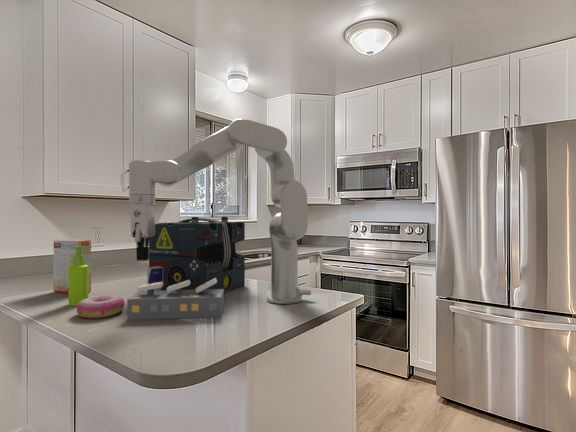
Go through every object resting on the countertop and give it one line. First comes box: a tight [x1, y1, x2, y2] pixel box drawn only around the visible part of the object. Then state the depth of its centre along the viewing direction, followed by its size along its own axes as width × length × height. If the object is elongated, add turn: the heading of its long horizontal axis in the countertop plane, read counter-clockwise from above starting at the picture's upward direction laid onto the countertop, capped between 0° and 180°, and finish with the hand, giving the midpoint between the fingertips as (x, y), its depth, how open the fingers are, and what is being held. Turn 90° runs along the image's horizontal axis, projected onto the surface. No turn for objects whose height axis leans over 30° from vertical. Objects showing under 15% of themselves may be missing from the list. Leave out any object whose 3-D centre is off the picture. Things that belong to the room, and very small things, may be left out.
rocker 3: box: [195, 278, 217, 293], centre depth 113 cm, size 7×4×1 cm, turn 96°
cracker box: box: [53, 239, 92, 294], centre depth 142 cm, size 14×6×21 cm, turn 69°
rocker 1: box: [137, 282, 163, 293], centre depth 111 cm, size 7×4×1 cm, turn 96°
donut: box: [75, 294, 125, 319], centre depth 111 cm, size 14×13×5 cm
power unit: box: [148, 216, 246, 294], centre depth 148 cm, size 28×28×30 cm
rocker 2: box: [167, 280, 191, 292], centre depth 112 cm, size 7×4×1 cm, turn 96°
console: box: [126, 287, 225, 321], centre depth 112 cm, size 27×12×8 cm, turn 96°
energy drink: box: [146, 266, 163, 291], centre depth 127 cm, size 5×5×12 cm
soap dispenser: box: [68, 246, 92, 307], centre depth 124 cm, size 6×7×20 cm
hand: (142, 259), depth 111 cm, fingers closed
